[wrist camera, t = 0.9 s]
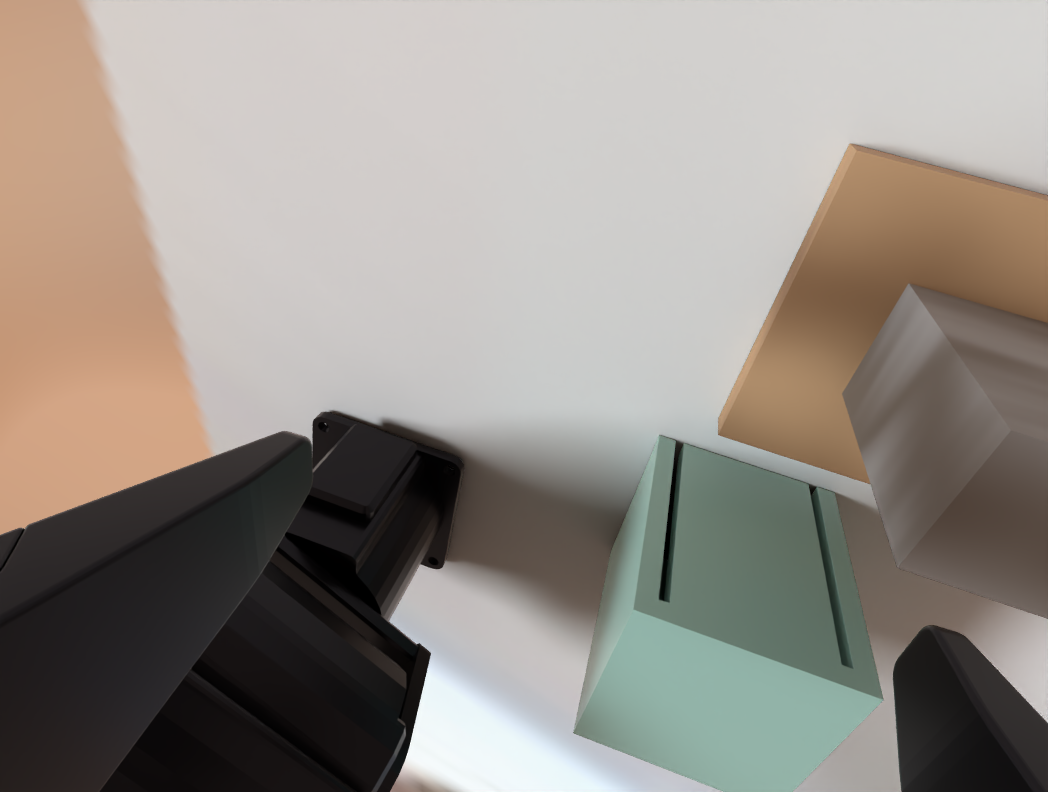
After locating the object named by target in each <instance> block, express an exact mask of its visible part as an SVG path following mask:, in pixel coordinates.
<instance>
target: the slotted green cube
mask: <svg viewBox="0 0 1048 792" xmlns="http://www.w3.org/2000/svg"><path fill="white" fill-rule="evenodd" d="M675 443H676V441H675V440H672V439H669V438H666V437H663V436H660V435H659V437H658V440H657V442H656V444H655V447H654V449H653V452H652V454H651V456H650V459H649V461H648V464H647V466H646V468H645V471H644V473H643V476H642V478H641V480H640V483H639V485H638V488H637V490H636V492H635V495H634V497H633V500H632V502H631V504H630V507H629V509H628V512H627V514H626V516H625V519H624V521H623V524H622V526H621V528H620V531H619V533H618V536H617V538H616V540H615V543H614V545H613V547H612V550H611V553H610V558H609V563H608V568H607V572H606V577H605V582H604V587H603V592H602V597H601V601H600V606H599V611H598V616H597V621H596V626H595V630H594V635H593V640H592V645H591V650H590V654H589V659H588V664H587V669H586V674H585V679H584V683H583V688H582V693H581V698H580V703H579V708H578V712H577V717H576V722H575V727H574V732H573V733H574V734H577V735H579V736H582V737H584V738H587V739H590V740H592V741H595V742H597V743H600V744H602V745H605V746H608V747H610V748H613V749H615V750H618V751H620V752H623V753H626V754H628V755H631V756H633V757H636V758H638V759H641V760H644V761H646V762H649V763H651V764H654V765H656V766H659V767H662V768H664V769H667V770H669V771H672V772H674V773H677V774H679V775H682V776H685V777H687V778H690V779H692V780H695V781H697V782H700V783H703V784H705V785H708V786H710V787H713V788H715V789H718V790H721V791H723V792H793V791H794V790H795V789H796V788H797V787H798V786H799V785H800V784H801V783H802V782H803V781H804V780H805V779H806V778H807V777H808V776H809V775H810V774H811V773H812V772H813V771H814V770H815V769H816V768H817V767H818V766H819V765H820V764H821V763H822V762H823V761H824V760H825V759H826V758H827V757H828V756H829V755H830V754H831V753H832V752H833V751H834V750H835V749H836V748H837V746H838V745H839V744H840V743H841V742H842V741H843V740H844V739H845V738H846V737H847V736H848V735H849V734H850V733H851V732H852V731H853V730H854V729H855V728H856V727H857V726H858V725H859V724H860V723H861V722H862V721H863V720H864V719H865V718H866V717H867V716H868V715H869V714H870V713H871V712H872V711H873V710H874V709H875V708H876V707H877V706H878V705H879V704H880V703H881V702H882V701H883V696H882V691H881V687H880V683H879V679H878V674H877V670H876V666H875V662H874V657H873V653H872V649H871V645H870V641H869V636H868V632H867V628H866V624H865V619H864V615H863V611H862V607H861V602H860V598H859V594H858V590H857V585H856V581H855V577H854V573H853V569H852V564H851V560H850V556H849V552H848V547H847V543H846V539H845V535H844V530H843V526H842V522H841V518H840V513H839V509H838V505H837V501H836V497H835V493H834V492H831V491H828V490H825V489H822V488H819V487H817V488H816V489H815V491H814V493H813V494H812V496H811V495H810V490H809V484H807V483H804V482H801V481H798V480H795V479H791V478H788V477H785V476H782V475H779V474H776V473H773V472H770V471H767V470H764V469H761V468H758V467H755V466H752V465H749V464H746V463H743V462H740V461H736V460H733V459H730V458H727V457H724V456H721V455H718V454H715V453H712V452H709V451H706V450H703V449H700V448H697V447H694V446H691V445H688V444H685V443H684V445H683V447H682V449H681V451H680V453H679V456H678V464H677V474H676V484H675V495H674V505H673V515H672V525H671V535H670V545H669V555H668V560H666V559H663V554H664V545H665V535H666V526H667V517H668V508H669V499H670V489H671V480H672V471H673V462H674V452H675Z"/></svg>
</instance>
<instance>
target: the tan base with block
mask: <svg viewBox="0 0 1048 792" xmlns="http://www.w3.org/2000/svg"><path fill="white" fill-rule="evenodd" d="M718 435H720V436H723V437H726V438H729V439H732V440H735V441H738V442H741V443H744V444H748V445H751V446H754V447H757V448H760V449H763V450H766V451H769V452H772V453H775V454H778V455H782V456H785V457H788V458H791V459H794V460H797V461H800V462H803V463H806V464H809V465H812V466H815V467H819V468H822V469H825V470H828V471H831V472H834V473H837V474H840V475H843V476H846V477H849V478H853V479H856V480H859V481H862V482H865V483H868V484H871V487H872V490H873V493H874V496H875V500H876V503H877V506H878V509H879V512H880V515H881V518H882V522H883V525H884V528H885V531H886V534H887V537H888V541H889V544H890V547H891V550H892V553H893V556H894V559H895V563H896V566H897V568H899V569H902V570H905V571H908V572H911V573H914V574H916V575H919V576H922V577H925V578H928V579H931V580H934V581H937V582H940V583H943V584H946V585H949V586H952V587H955V588H958V589H961V590H964V591H967V592H970V593H973V594H976V595H979V596H982V597H985V598H988V599H991V600H994V601H997V602H1000V603H1003V604H1005V605H1008V606H1011V607H1014V608H1017V609H1020V610H1023V611H1026V612H1029V613H1032V614H1035V615H1038V616H1041V617H1044V618H1047V619H1048V195H1044V194H1040V193H1036V192H1033V191H1029V190H1025V189H1021V188H1017V187H1014V186H1010V185H1006V184H1002V183H998V182H995V181H991V180H987V179H983V178H979V177H976V176H972V175H968V174H964V173H960V172H957V171H953V170H949V169H945V168H941V167H938V166H934V165H930V164H926V163H922V162H919V161H915V160H911V159H907V158H903V157H900V156H896V155H892V154H888V153H884V152H881V151H877V150H873V149H869V148H865V147H862V146H858V145H854V144H849V146H848V148H847V150H846V152H845V154H844V156H843V159H842V161H841V163H840V165H839V167H838V169H837V171H836V173H835V175H834V177H833V180H832V182H831V184H830V186H829V188H828V190H827V192H826V194H825V196H824V198H823V200H822V203H821V205H820V207H819V209H818V211H817V213H816V215H815V217H814V219H813V221H812V224H811V226H810V228H809V230H808V232H807V234H806V236H805V238H804V240H803V242H802V244H801V247H800V249H799V251H798V253H797V255H796V257H795V259H794V261H793V263H792V265H791V267H790V270H789V272H788V274H787V276H786V278H785V280H784V282H783V284H782V286H781V288H780V291H779V293H778V295H777V297H776V299H775V301H774V303H773V305H772V307H771V309H770V311H769V314H768V316H767V318H766V320H765V322H764V324H763V326H762V328H761V330H760V332H759V335H758V337H757V339H756V341H755V343H754V345H753V347H752V349H751V351H750V353H749V355H748V358H747V360H746V362H745V364H744V366H743V368H742V370H741V372H740V374H739V376H738V378H737V381H736V383H735V385H734V387H733V389H732V391H731V393H730V395H729V397H728V399H727V402H726V404H725V406H724V408H723V410H722V412H721V414H720V416H719V418H718Z"/></svg>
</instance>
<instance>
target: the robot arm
mask: <svg viewBox="0 0 1048 792" xmlns="http://www.w3.org/2000/svg"><path fill="white" fill-rule="evenodd" d="M325 423H326V424H327V425H328V426H329V427H328V426H327V425H325ZM448 466H451V467H453V468H454V470H452V469H450V468H449V467H448ZM463 473H464V464H463V462H462V460H461V459H460V458H458V457H456V456H454V455H452V454H449V453H446V452H443V451H440V450H437V449H434V448H431V447H428V446H425V445H422V444H420V443H417V442H414V441H411V440H408V439H405V438H402V437H399V436H396V435H393V434H391V433H388V432H385V431H382V430H379V429H376V428H373V427H370V426H367V425H364V424H361V423H359V422H356V421H353V420H350V419H347V418H344V417H341V416H338V415H335V414H332V413H330V412H321V413H320V414H319V415H318V416H317V417H316V418H315V419H314V420H313V451H312V444H311V441H310V440H309V439H308V438H307V437H305V436H302V435H298V434H295V433H292V432H288V431H282V432H278V433H276V434H273V435H270V436H267V437H265V438H262V439H259V440H257V441H254V442H251V443H249V444H246V445H243V446H240V447H238V448H235V449H232V450H230V451H227V452H224V453H221V454H219V455H216V456H213V457H211V458H208V459H205V460H203V461H200V462H197V463H194V464H192V465H189V466H186V467H183V468H181V469H178V470H176V471H173V472H170V473H167V474H164V475H162V476H159V477H157V478H154V479H151V480H148V481H146V482H143V483H140V484H137V485H135V486H132V487H129V488H127V489H124V490H121V491H118V492H116V493H113V494H111V495H108V496H105V497H102V498H100V499H97V500H94V501H92V502H89V503H86V504H83V505H81V506H78V507H75V508H72V509H70V510H67V511H64V512H62V513H59V514H56V515H53V516H50V517H48V518H45V519H42V520H40V521H37V522H34V523H32V524H29V525H28V526H27V527H26V528H25V529H24V528H18V529H15V530H12V531H9V532H7V533H4V534H1V535H0V792H390V790H391V789H392V787H393V785H394V783H395V781H396V779H397V777H398V776H399V773H400V771H401V769H402V766H403V764H404V762H405V759H406V756H407V753H408V749H409V746H410V742H411V737H412V733H413V729H414V724H415V720H416V716H417V711H418V707H419V703H420V699H421V694H422V690H423V686H424V681H425V677H426V673H427V668H428V664H429V660H430V655H431V653H430V652H429V651H428V650H427V649H426V648H424V647H423V646H422V645H421V644H420V643H419V644H416V643H414V642H413V641H412V640H411V639H409V638H408V637H407V636H406V635H405V634H403V633H402V632H401V631H400V630H399V629H397V628H396V627H395V626H394V625H393V624H391V623H390V622H389V620H390V618H391V616H392V614H393V613H394V611H395V609H396V607H397V605H398V604H399V602H400V600H401V598H402V596H403V594H404V593H405V591H406V589H407V587H408V585H409V584H410V582H411V580H412V578H413V576H414V574H415V573H416V571H417V569H418V567H419V565H420V564H421V565H424V566H427V567H430V568H432V569H440V568H442V567H443V565H444V563H445V561H446V559H447V555H448V550H449V545H450V540H451V535H452V530H453V524H454V519H455V514H456V509H457V504H458V499H459V494H460V488H461V483H462V478H463ZM893 685H894V700H895V714H896V729H897V743H898V758H899V772H900V782H901V791H902V792H1048V723H1047V722H1046V721H1045V720H1044V719H1043V718H1042V716H1041V715H1040V714H1039V713H1038V712H1037V711H1036V710H1035V709H1034V708H1033V707H1032V706H1031V705H1030V704H1029V703H1028V702H1027V701H1026V700H1025V699H1024V698H1023V696H1022V695H1021V694H1020V693H1019V692H1018V691H1017V690H1016V689H1015V688H1014V687H1013V686H1012V685H1011V684H1010V683H1009V682H1008V681H1007V680H1006V679H1005V677H1004V676H1003V675H1002V674H1001V673H1000V672H999V671H998V670H997V669H996V668H995V667H994V666H993V665H992V664H991V663H990V662H989V661H988V660H987V659H986V657H985V656H984V655H983V654H982V653H981V652H980V651H979V650H978V649H977V648H976V647H975V646H974V645H973V644H972V643H971V642H970V641H969V640H968V639H967V638H966V637H965V636H964V635H962V634H960V633H958V632H955V631H951V630H948V629H945V628H941V627H938V626H934V625H928V626H926V627H924V628H923V629H922V630H921V631H920V632H919V633H918V634H917V635H916V637H915V638H914V639H913V640H912V642H911V643H910V644H909V645H908V647H907V648H906V649H905V650H904V652H903V653H902V654H901V655H900V656H899V658H898V659H897V661H896V663H895V666H894V671H893Z"/></svg>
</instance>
